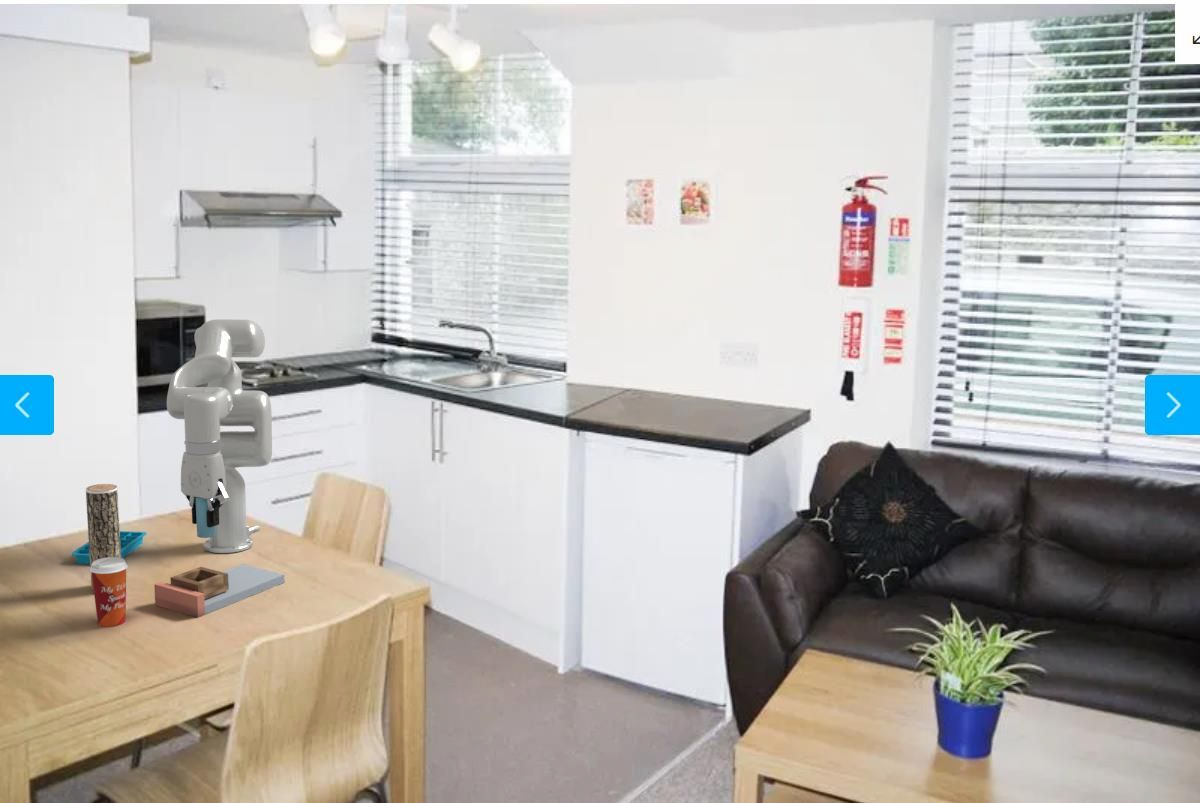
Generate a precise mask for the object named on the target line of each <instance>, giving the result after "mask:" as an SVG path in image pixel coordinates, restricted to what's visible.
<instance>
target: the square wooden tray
mask: <svg viewBox="0 0 1200 803" xmlns="http://www.w3.org/2000/svg"><path fill="white" fill-rule="evenodd" d="M170 584H171V585H175V586H178V587H182V588H185V589H189V590H193V591H196V592H200V593H203V594H204V599H207V598H209V597H212V596H215V595H217V594H220V593H222V592H225V591H227V590H229V582H228V574H227V573H223V571H219V570H215V569H210V568H207V567H204V566H199V567H196V568H193V569H191V570H188V571H185V572H181V573H179V574H177V575H174V576H170Z"/></svg>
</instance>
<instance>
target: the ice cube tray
mask: <svg viewBox="0 0 1200 803" xmlns="http://www.w3.org/2000/svg"><path fill="white" fill-rule="evenodd" d="M119 531H120V550H121V558H122V559H124V558H125V557H127V556H128V555H130V553H132V552H133V551H135V550H136V549H138V547H140V546H142V545H143V542H144V539H143V538H144V537H145V536H147V532H146V531H134V530H131V531H130V530H119ZM71 556H73V557H74V556H75V560H76V564H82V565H90V555H89V541H88V542H85V544H83V545H82V546H80V547H78V548H77V549H75V550H74V551H72V552H71Z"/></svg>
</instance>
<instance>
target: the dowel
mask: <svg viewBox="0 0 1200 803" xmlns="http://www.w3.org/2000/svg"><path fill="white" fill-rule="evenodd" d="M212 500H213V503H214V499H212ZM208 510H209V509H208V503H207V499H203V498H198V497H196V520H197V524H196V536H197V538H199V539H200V538H201V539H202V538H203V539H208V538H209V539H210V537H213V536H215V526H213V527H210V528H209V527H207V511H208Z"/></svg>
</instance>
